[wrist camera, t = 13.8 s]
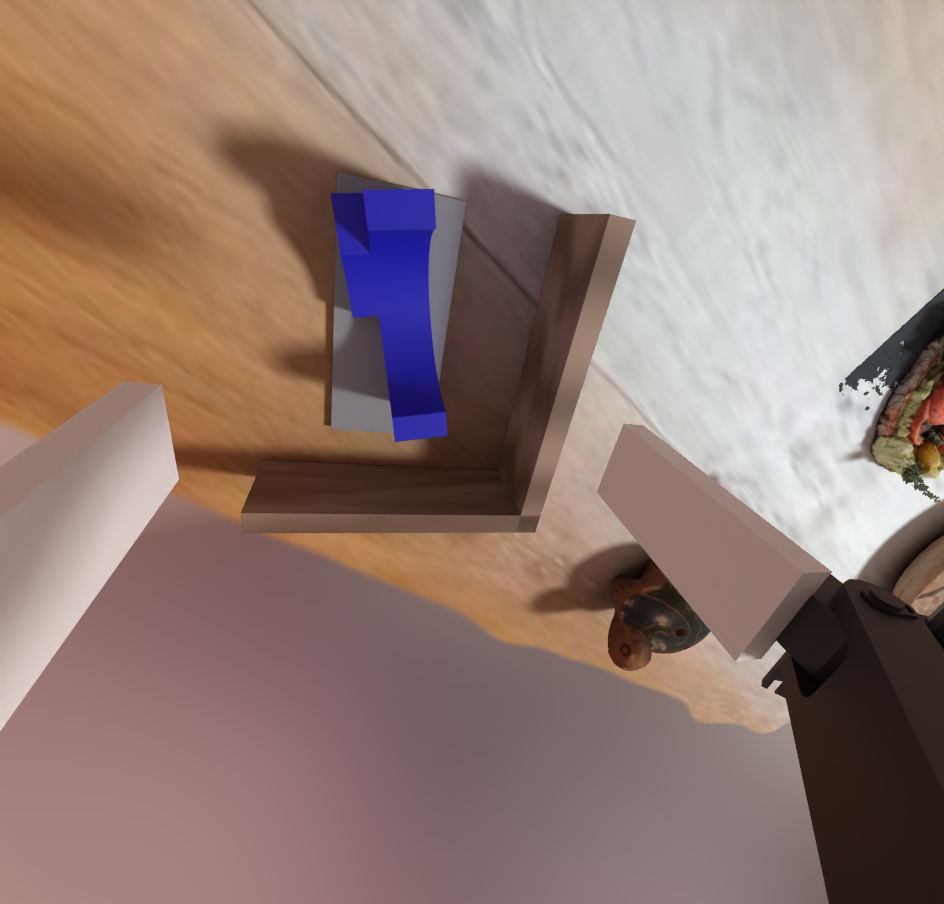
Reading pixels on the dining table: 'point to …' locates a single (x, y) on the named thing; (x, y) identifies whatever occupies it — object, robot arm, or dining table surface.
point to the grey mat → (359, 338)
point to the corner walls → (527, 439)
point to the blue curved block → (395, 295)
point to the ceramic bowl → (924, 580)
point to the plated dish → (910, 397)
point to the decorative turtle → (650, 619)
